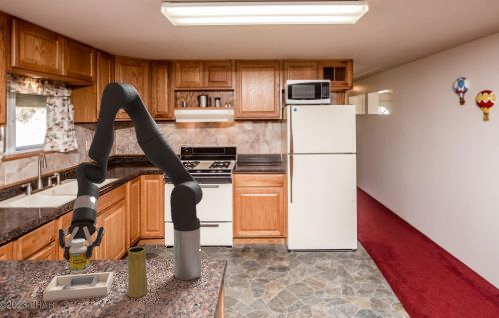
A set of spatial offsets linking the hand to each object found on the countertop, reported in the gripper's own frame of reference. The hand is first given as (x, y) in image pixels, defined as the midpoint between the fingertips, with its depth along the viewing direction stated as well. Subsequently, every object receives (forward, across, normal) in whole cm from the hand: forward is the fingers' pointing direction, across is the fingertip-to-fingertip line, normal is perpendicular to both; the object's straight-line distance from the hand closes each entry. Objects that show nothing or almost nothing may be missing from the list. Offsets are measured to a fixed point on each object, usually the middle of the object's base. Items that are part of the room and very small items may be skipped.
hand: (77, 258), depth 107 cm
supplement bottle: (+2, 0, +4) cm, 5 cm away
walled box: (+7, 0, +9) cm, 11 cm away
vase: (+11, +18, +5) cm, 22 cm away
